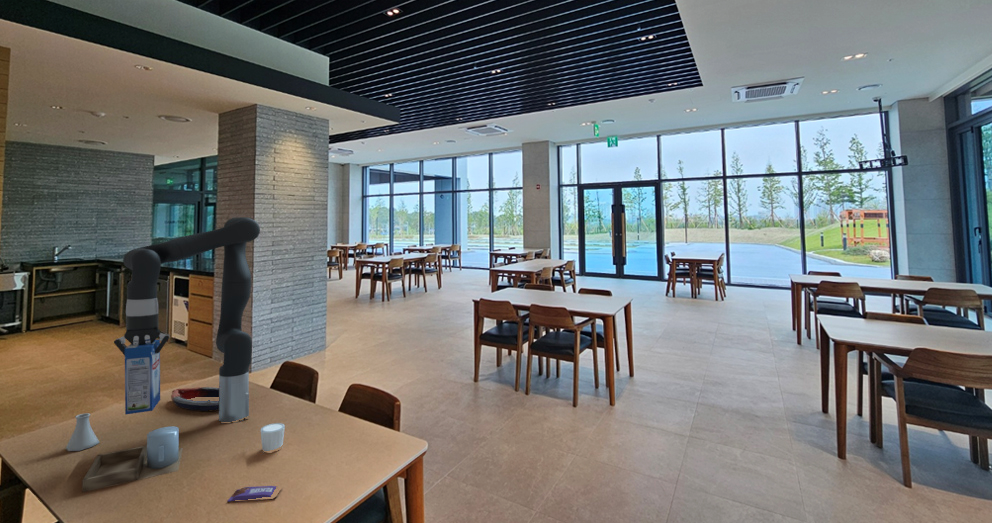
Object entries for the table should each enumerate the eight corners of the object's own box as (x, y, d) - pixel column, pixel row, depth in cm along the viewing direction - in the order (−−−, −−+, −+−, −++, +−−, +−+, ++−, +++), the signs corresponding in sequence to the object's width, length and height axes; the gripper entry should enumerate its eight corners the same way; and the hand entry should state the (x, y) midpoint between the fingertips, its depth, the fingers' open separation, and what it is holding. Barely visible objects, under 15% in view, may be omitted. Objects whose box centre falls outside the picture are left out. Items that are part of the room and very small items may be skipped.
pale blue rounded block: (179, 453, 120) (179, 424, 120) (176, 466, 113) (176, 435, 113) (149, 460, 116) (149, 429, 116) (144, 473, 109) (144, 441, 109)
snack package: (283, 483, 107) (275, 495, 102) (283, 490, 107) (275, 502, 102) (237, 485, 105) (226, 497, 100) (237, 492, 105) (226, 505, 100)
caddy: (182, 452, 124) (182, 438, 124) (177, 475, 111) (178, 460, 111) (98, 470, 113) (98, 454, 113) (82, 498, 101) (82, 480, 100)
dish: (211, 418, 149) (211, 405, 148) (156, 405, 158) (156, 393, 158) (249, 403, 163) (249, 391, 163) (196, 392, 173) (196, 381, 173)
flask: (77, 453, 122) (77, 421, 121) (59, 450, 123) (59, 418, 123) (105, 442, 129) (105, 412, 128) (87, 439, 130) (87, 409, 130)
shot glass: (289, 446, 129) (289, 425, 129) (269, 456, 123) (269, 434, 123) (275, 441, 132) (275, 421, 132) (255, 451, 126) (255, 429, 126)
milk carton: (152, 410, 122) (151, 346, 121) (125, 414, 119) (124, 348, 118) (160, 399, 130) (159, 339, 130) (135, 402, 127) (134, 341, 127)
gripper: (172, 309, 130) (172, 361, 131) (115, 312, 123) (115, 368, 123) (169, 313, 124) (170, 367, 125) (109, 316, 116) (109, 375, 117)
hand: (143, 367), depth 124 cm, fingers closed
